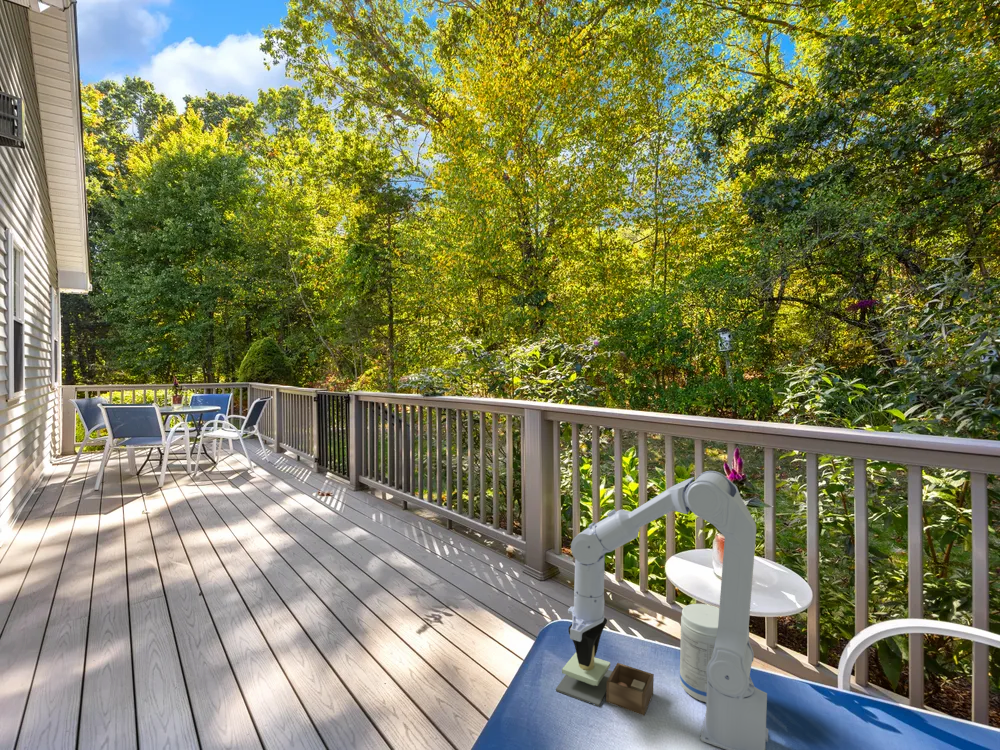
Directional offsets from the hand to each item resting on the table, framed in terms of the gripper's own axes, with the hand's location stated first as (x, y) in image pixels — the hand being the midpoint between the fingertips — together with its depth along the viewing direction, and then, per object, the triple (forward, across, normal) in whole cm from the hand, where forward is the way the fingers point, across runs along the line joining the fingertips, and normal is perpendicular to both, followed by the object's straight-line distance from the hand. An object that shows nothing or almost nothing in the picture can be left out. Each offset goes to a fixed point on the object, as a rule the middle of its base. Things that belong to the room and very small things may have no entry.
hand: (587, 659), depth 98 cm
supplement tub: (+5, -10, +20) cm, 23 cm away
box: (+5, 0, +8) cm, 10 cm away
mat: (+5, 0, 0) cm, 5 cm away
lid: (+3, 0, 0) cm, 3 cm away
